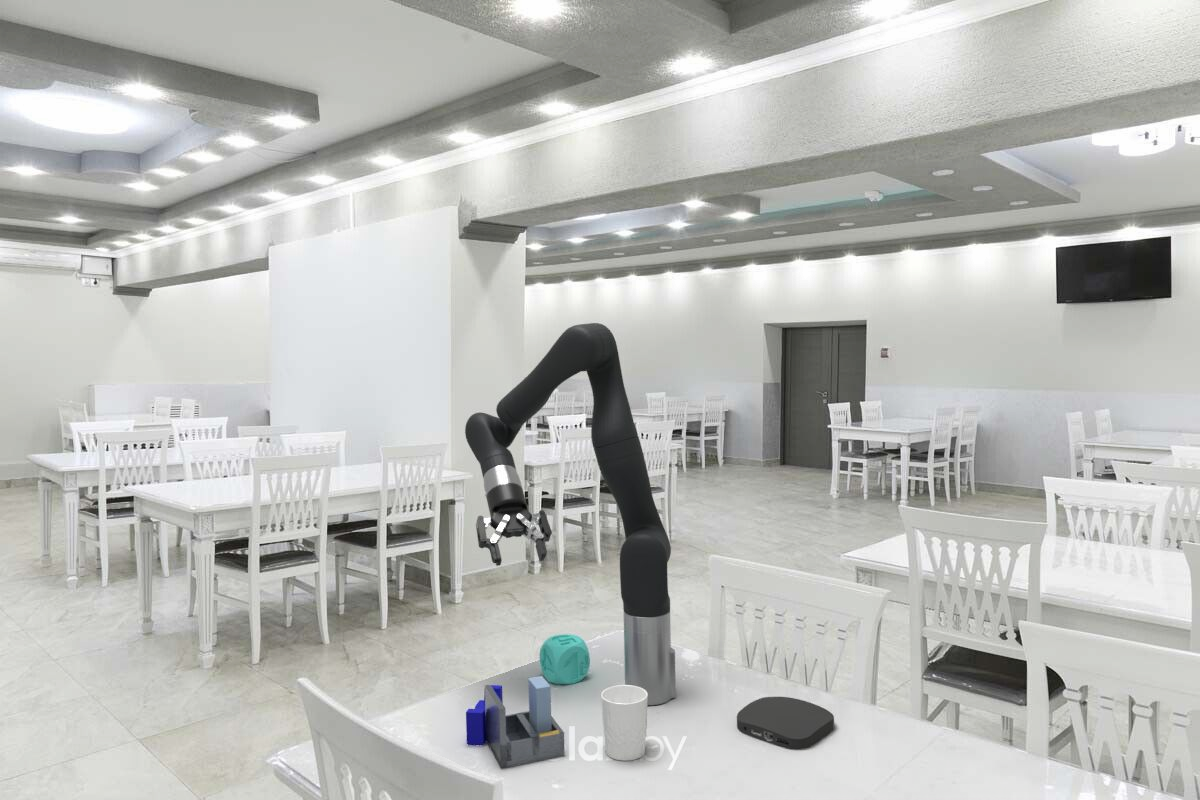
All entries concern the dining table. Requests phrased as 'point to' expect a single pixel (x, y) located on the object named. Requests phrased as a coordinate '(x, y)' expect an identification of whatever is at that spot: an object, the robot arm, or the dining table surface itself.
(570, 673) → the decorative dice
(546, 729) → the light blue rectangular block
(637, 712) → the white cup
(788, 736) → the media streaming box
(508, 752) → the grey compartment holder
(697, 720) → the dining table surface
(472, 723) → the blue piece
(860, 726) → the dining table surface
